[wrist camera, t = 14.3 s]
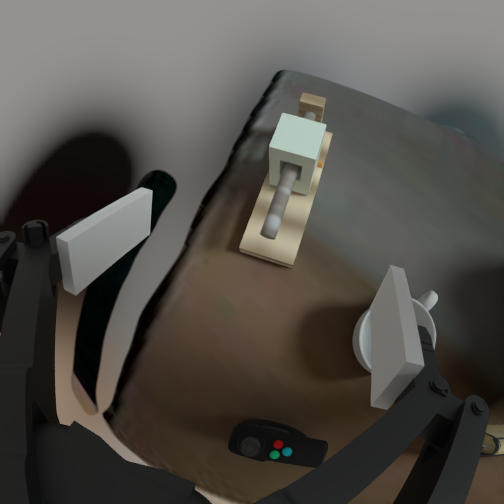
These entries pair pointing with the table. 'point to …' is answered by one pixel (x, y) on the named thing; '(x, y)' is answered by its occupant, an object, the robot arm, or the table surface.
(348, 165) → the table surface
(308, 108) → the lead screw slider
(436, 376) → the robot arm
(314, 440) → the controller
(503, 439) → the clutch purse
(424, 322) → the teacup
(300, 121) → the sleeve
